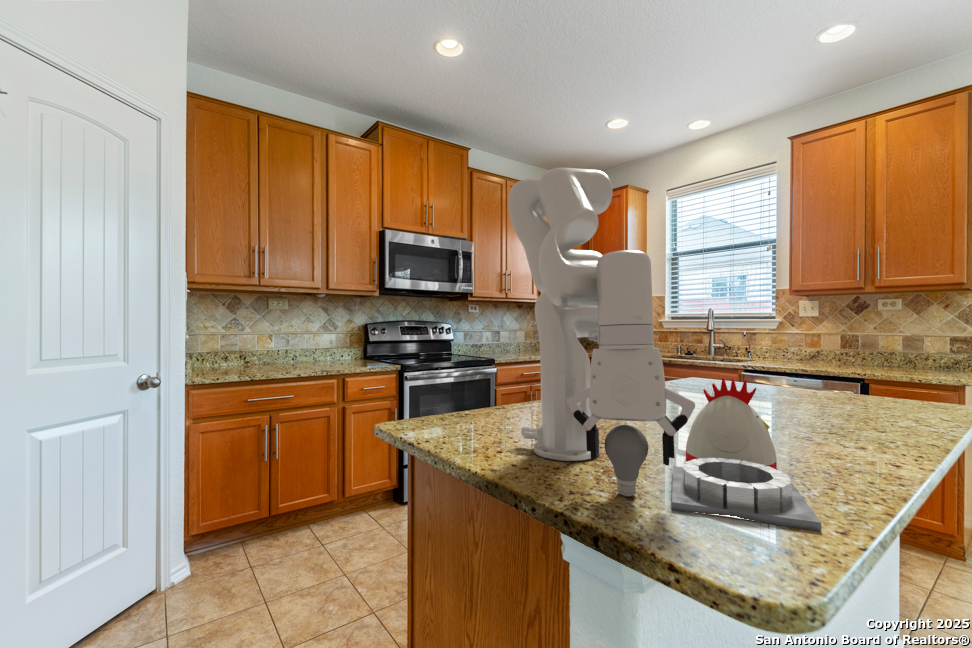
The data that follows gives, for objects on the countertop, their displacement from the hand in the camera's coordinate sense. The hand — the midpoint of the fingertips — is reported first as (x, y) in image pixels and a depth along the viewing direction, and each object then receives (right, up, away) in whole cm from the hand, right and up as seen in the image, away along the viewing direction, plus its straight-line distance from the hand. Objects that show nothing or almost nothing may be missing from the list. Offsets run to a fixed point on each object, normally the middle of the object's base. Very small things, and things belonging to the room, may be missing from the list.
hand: (629, 459), depth 62 cm
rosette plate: (+15, -5, 0) cm, 16 cm away
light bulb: (0, -6, +1) cm, 6 cm away
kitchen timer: (+22, -6, +15) cm, 27 cm away
